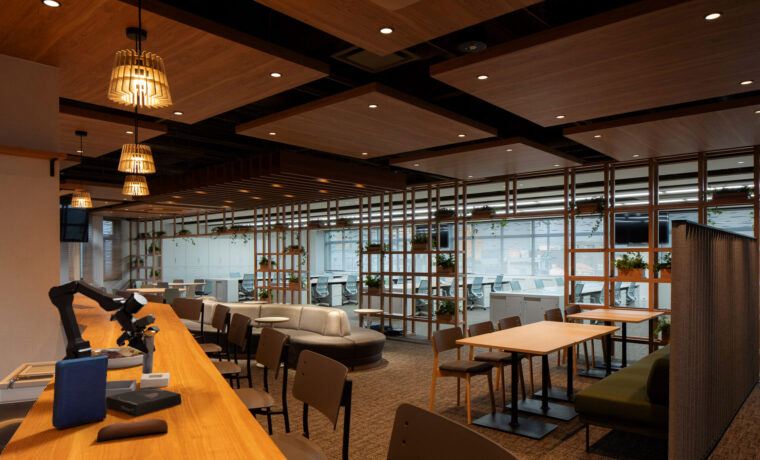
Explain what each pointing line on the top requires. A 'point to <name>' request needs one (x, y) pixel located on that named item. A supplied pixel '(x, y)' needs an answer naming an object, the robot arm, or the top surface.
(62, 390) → the book
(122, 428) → the sunglasses case
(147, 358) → the pin
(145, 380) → the pin socket block
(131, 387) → the pin tray
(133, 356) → the bowl
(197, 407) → the top surface
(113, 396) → the portable cd player
